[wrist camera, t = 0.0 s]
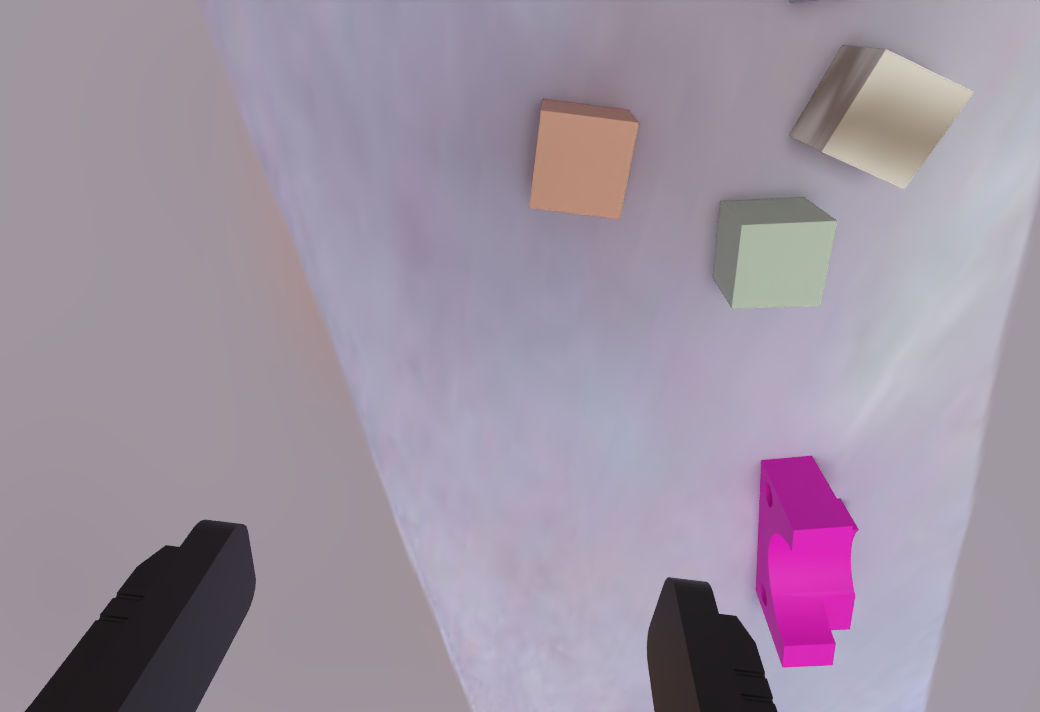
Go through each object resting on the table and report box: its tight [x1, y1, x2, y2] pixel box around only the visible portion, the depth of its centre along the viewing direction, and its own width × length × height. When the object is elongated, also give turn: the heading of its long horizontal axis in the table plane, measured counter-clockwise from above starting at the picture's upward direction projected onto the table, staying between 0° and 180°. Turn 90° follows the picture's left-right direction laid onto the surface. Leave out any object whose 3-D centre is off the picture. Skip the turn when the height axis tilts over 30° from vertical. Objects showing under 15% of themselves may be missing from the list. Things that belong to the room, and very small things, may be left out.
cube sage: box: [713, 197, 837, 309], centre depth 35 cm, size 5×5×5 cm
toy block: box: [756, 456, 859, 667], centre depth 46 cm, size 15×6×8 cm, turn 9°
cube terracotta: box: [529, 99, 639, 219], centre depth 33 cm, size 5×5×5 cm
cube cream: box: [789, 45, 974, 189], centre depth 31 cm, size 5×5×5 cm
